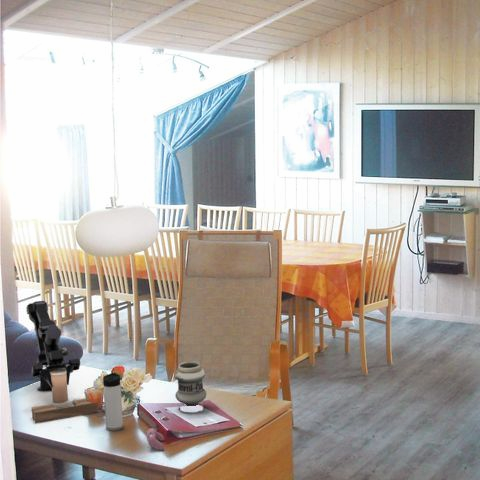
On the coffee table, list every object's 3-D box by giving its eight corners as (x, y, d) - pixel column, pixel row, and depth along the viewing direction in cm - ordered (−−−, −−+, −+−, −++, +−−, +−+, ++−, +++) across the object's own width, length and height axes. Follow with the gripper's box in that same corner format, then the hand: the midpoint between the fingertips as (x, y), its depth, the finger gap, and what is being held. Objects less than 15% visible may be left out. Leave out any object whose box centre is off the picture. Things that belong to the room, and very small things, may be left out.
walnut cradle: (32, 417, 312) (31, 407, 312) (93, 406, 322) (92, 397, 321) (35, 423, 306) (34, 413, 305) (98, 412, 315) (97, 402, 315)
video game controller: (153, 444, 286) (144, 428, 284) (165, 438, 286) (155, 422, 284) (153, 456, 276) (143, 439, 275) (165, 449, 276) (155, 432, 275)
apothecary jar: (170, 412, 312) (168, 367, 310) (184, 402, 324) (182, 358, 321) (199, 415, 308) (197, 370, 305) (212, 405, 319) (210, 361, 316)
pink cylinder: (51, 399, 322) (49, 370, 321) (66, 397, 325) (64, 368, 323) (54, 404, 317) (52, 375, 315) (69, 401, 319) (67, 372, 318)
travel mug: (125, 424, 302) (122, 372, 299) (120, 431, 295) (117, 378, 292) (108, 424, 302) (105, 372, 299) (103, 431, 296) (100, 378, 293)
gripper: (30, 344, 317) (37, 379, 309) (78, 338, 325) (86, 372, 316) (28, 358, 325) (35, 393, 317) (74, 352, 333) (82, 385, 325)
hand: (60, 385), depth 319 cm, fingers closed on pink cylinder, 6 cm apart
